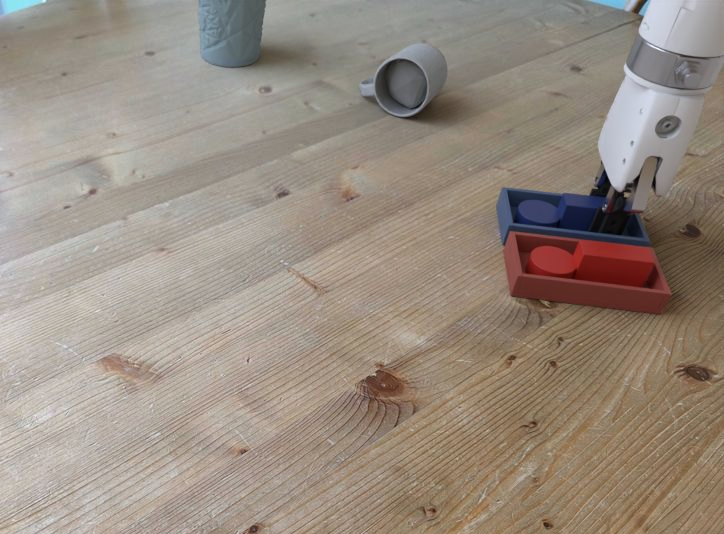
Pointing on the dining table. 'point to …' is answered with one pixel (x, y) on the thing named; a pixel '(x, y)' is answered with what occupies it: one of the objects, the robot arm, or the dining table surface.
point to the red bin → (579, 291)
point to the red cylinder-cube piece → (594, 263)
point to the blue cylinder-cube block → (560, 212)
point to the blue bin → (507, 212)
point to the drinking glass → (230, 31)
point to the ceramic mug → (407, 80)
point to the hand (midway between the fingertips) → (597, 231)
